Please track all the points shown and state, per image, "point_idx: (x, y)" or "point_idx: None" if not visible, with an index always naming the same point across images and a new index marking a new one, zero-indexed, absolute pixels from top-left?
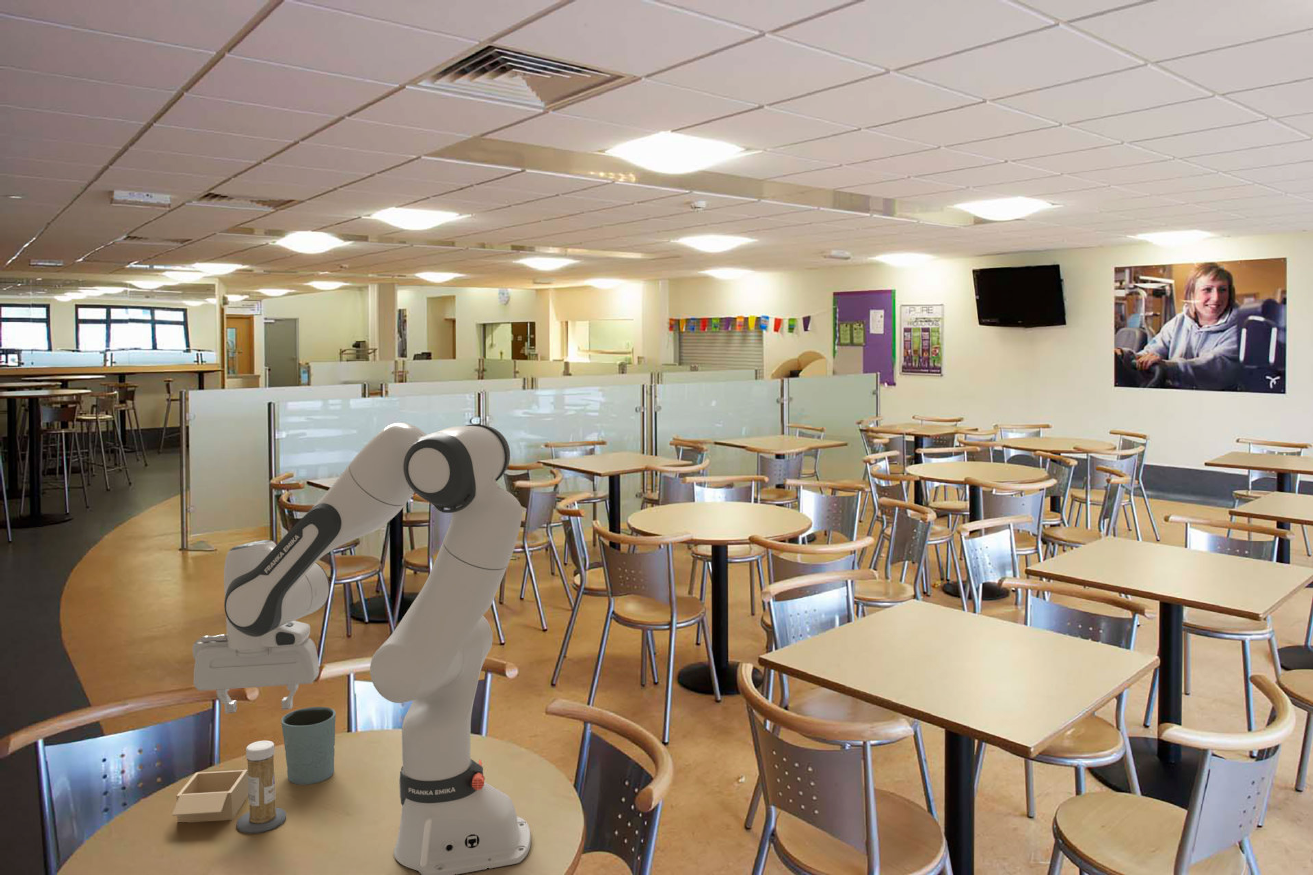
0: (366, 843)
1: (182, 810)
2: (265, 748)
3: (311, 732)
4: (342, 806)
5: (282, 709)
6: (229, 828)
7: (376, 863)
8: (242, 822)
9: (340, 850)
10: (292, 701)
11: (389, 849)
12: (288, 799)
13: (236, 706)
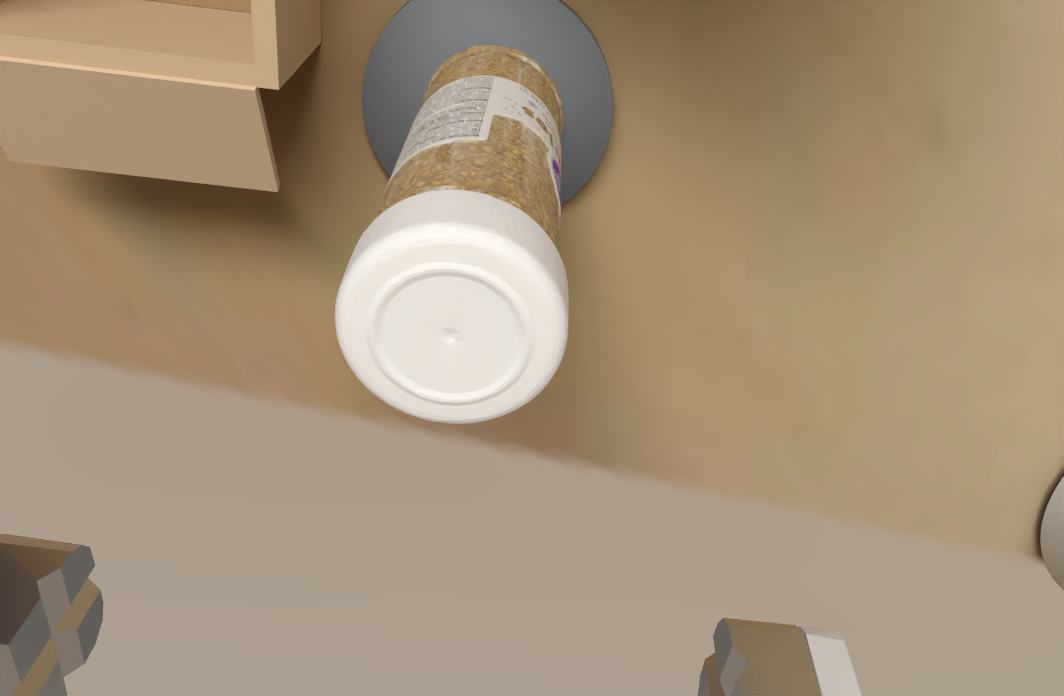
0: (962, 411)
1: (51, 149)
2: (510, 409)
3: None
4: (920, 36)
5: (702, 676)
6: (338, 138)
7: (965, 534)
8: (396, 134)
9: (852, 434)
10: (851, 683)
11: (1036, 468)
12: None
13: (59, 574)
